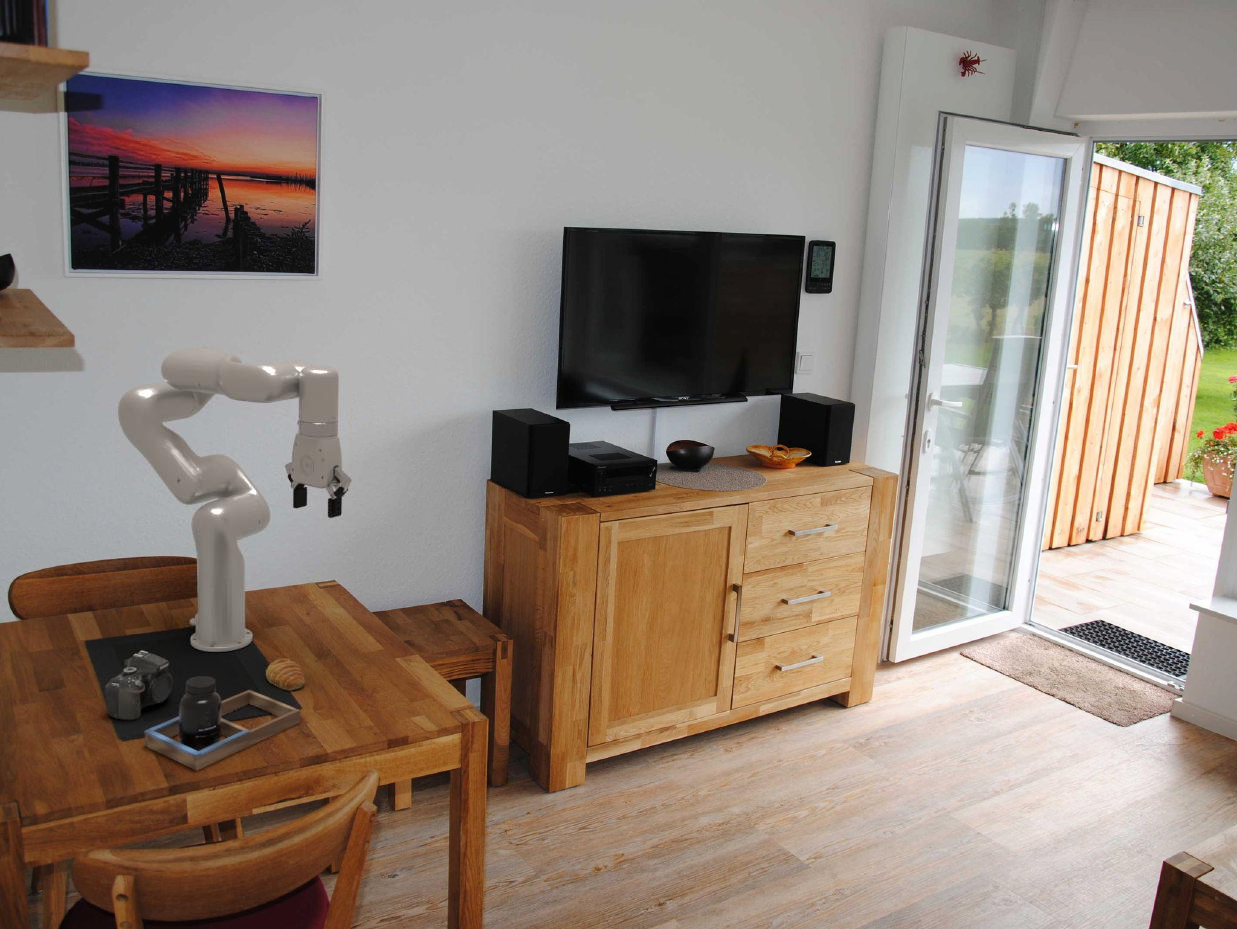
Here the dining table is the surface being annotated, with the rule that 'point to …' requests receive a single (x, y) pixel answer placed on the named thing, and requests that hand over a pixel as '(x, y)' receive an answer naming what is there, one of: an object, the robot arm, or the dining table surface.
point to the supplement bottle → (200, 714)
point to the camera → (138, 686)
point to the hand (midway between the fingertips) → (317, 511)
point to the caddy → (223, 732)
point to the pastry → (285, 674)
